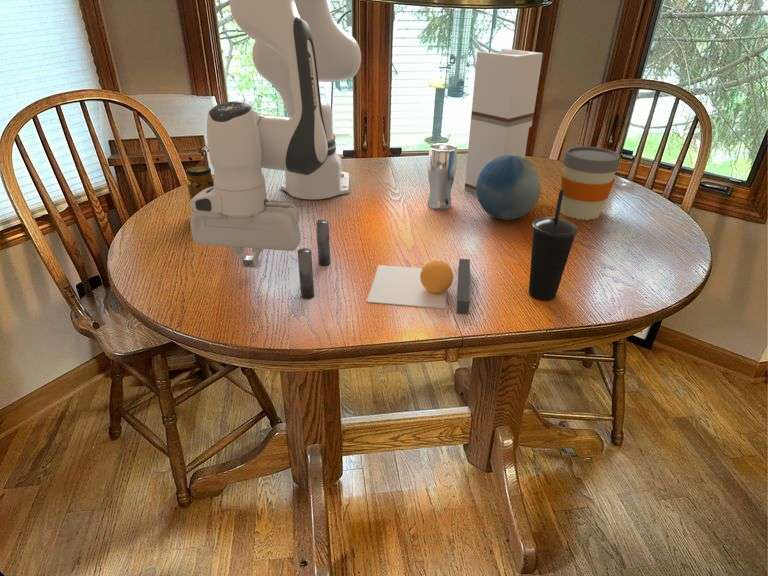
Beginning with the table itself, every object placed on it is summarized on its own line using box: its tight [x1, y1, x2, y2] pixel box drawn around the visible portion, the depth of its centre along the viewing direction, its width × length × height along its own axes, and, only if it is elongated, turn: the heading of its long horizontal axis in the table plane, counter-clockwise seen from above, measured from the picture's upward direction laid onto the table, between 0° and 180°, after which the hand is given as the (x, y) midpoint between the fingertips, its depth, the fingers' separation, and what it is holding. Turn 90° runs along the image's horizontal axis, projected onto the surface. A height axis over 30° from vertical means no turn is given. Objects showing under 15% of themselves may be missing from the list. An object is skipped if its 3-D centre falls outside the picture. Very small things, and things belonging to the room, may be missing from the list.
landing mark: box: [366, 264, 448, 310], centre depth 99 cm, size 14×14×1 cm
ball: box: [420, 259, 454, 293], centre depth 97 cm, size 6×6×6 cm
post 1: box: [297, 247, 315, 300], centre depth 94 cm, size 2×2×9 cm
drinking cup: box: [528, 189, 579, 302], centre depth 92 cm, size 8×8×20 cm
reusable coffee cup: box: [560, 146, 621, 221], centre depth 128 cm, size 13×13×15 cm
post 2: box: [315, 219, 331, 267], centre depth 105 cm, size 2×2×9 cm
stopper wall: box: [456, 258, 471, 315], centre depth 98 cm, size 16×2×2 cm, turn 172°
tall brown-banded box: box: [463, 48, 544, 195], centre depth 136 cm, size 11×11×35 cm
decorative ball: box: [475, 155, 542, 220], centre depth 125 cm, size 15×15×15 cm
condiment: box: [186, 165, 214, 213], centre depth 124 cm, size 7×8×12 cm
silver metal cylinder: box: [427, 143, 458, 211], centre depth 131 cm, size 7×7×15 cm
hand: (250, 266), depth 102 cm, fingers closed
